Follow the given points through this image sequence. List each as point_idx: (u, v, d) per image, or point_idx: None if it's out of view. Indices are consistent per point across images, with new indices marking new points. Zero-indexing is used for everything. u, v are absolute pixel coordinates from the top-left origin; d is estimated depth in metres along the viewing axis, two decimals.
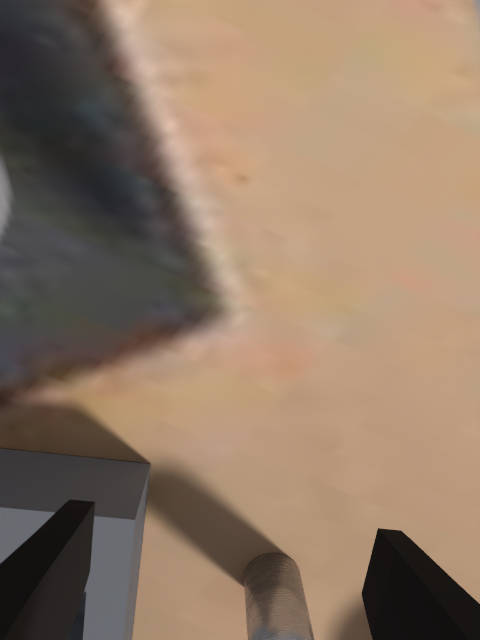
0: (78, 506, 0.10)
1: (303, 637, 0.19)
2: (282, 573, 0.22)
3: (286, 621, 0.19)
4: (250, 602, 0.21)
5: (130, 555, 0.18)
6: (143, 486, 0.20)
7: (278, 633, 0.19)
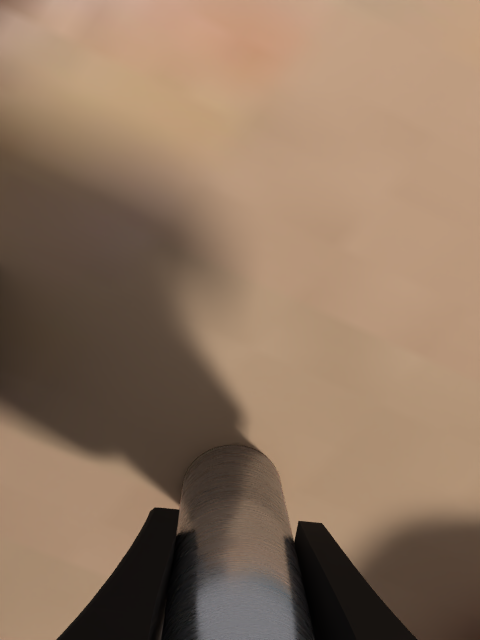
0: (166, 515, 0.10)
1: (278, 573, 0.09)
2: (245, 471, 0.12)
3: (243, 542, 0.09)
4: (182, 519, 0.11)
5: None
6: None
7: (224, 563, 0.09)
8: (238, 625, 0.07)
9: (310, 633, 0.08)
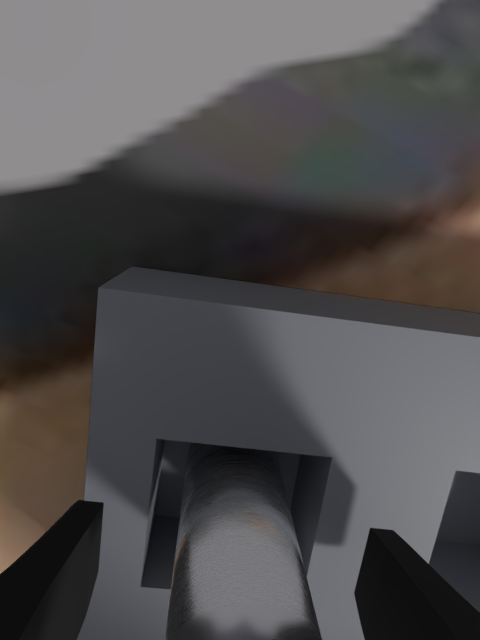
0: (87, 507, 0.10)
1: (273, 516, 0.10)
2: None
3: (243, 493, 0.11)
4: (188, 481, 0.12)
5: None
6: None
7: (227, 508, 0.10)
8: (240, 551, 0.09)
9: (300, 564, 0.09)
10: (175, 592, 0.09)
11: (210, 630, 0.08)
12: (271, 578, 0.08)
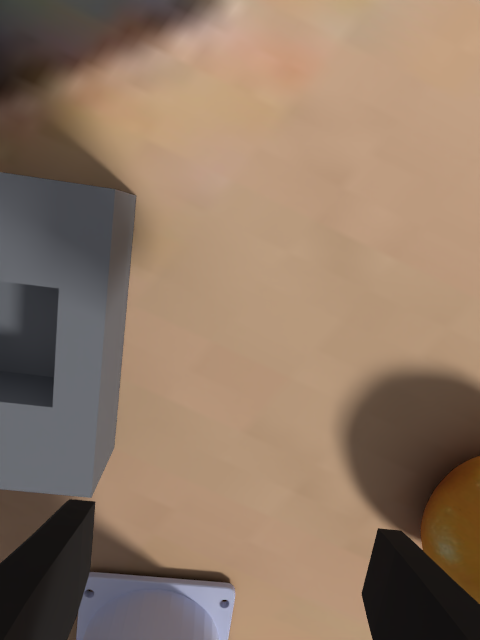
0: (78, 506, 0.10)
1: None
2: None
3: None
4: None
5: (110, 239, 0.15)
6: (126, 193, 0.17)
7: None
8: None
9: None
10: None
11: None
12: None
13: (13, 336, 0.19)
